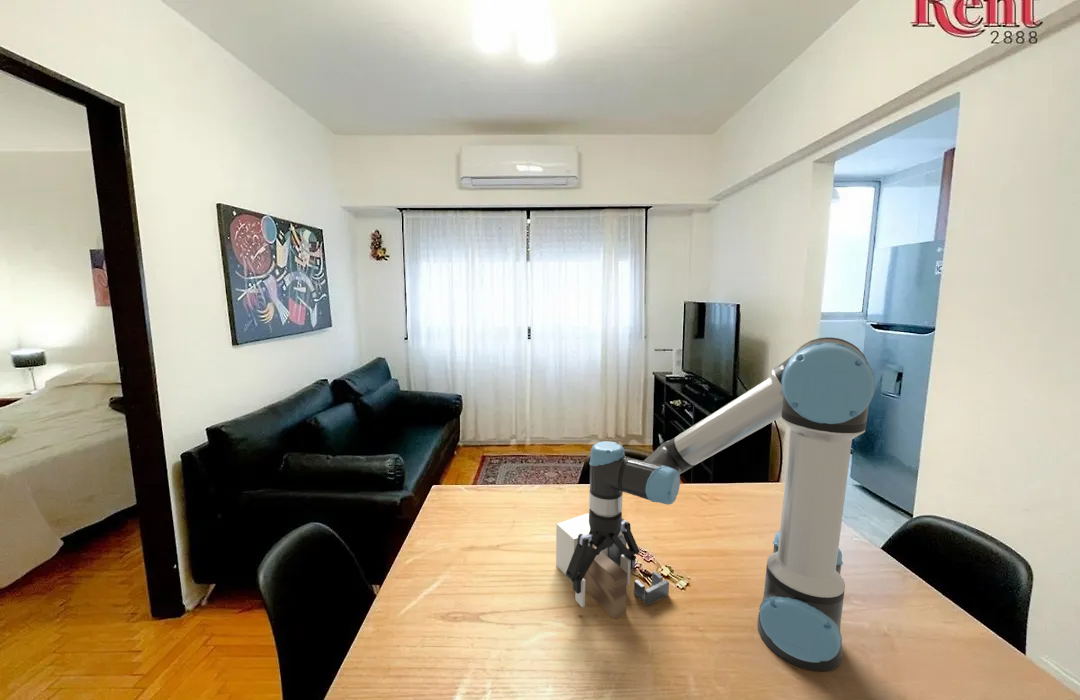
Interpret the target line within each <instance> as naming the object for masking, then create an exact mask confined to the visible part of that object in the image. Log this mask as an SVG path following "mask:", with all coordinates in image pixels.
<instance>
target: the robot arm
mask: <svg viewBox="0 0 1080 700" xmlns="http://www.w3.org/2000/svg"><path fill="white" fill-rule="evenodd" d="M875 390H876V378H875V374H874V371H873V368H872V367H871V364H869V362H868V360H867V358H866V356H865V354H864V353H863V352H862V351H861V349H860V348H859V347H857V346H856V345H854V344H853V343H852V342H849V341H847V340H845V339H843V338H839V337H831V336H830V337H829V336H828V337H826V336H825V337H818V338H815V339H812V340H809V341H807V342H806V343H804V344H803V345H800V347H799V348H798V349H797V350H796V351H795V352H794V353H792V354H791V355H790V356H789V357H788V358H787V359H785V361H783V362H782V363H780V364H779V365H776V367H774V368H772V370H771V375H770V376H769V377H768V378H766V379H765V380H763V381H762V382H760V383H758V384H757V385H755V386H754V387H752V388H751V389H748V390H747V391H745V392H744V393H743V394H741V395H740V396H738V397H737V398H735V399H733V400H731V401H730V402H728V403H726V404H725V405H724V406H722V407H720V408H719V409H718V410H716V411H714V412H713V413H711V414H709V415H708V416H706V417H705V418H703V419H701V420H700V421H698V422H696V423H695V424H693V425H692V426H690V427H689V428H687V429H685V430H684V431H683V432H680V433H679V434H678V435H677V436H675V437H673V438H672V439H670V440H667V441H664V442H663V443H661V444H660V445H659V446H657V448H656V449H655V450H654V451H653V452H651V454H650V455H648V457H646V458H645V459H644V460H640V459H638V458H637V459H636V458H632V457H630V456H626V455H625V449H624V447H623V445H622V444H619V443H618V442H615V441H609V440H608V441H607V440H606V441H605V440H604V441H598V442H595V444H593V445H592V447H591V448H590V459H589V499H588V500H589V501H588V504H589V509H588V513H589V525H590V532H589V534H588V535H583V534H579V535H578V542H577V546H576V548H575V551H574V553H573V556H572V558H571V561H570V563H569V566H568V569H567V571H566V575H565V576H566V577H567V578H568V580H569V581H570V582H572V583H573V584H572V588H573V591H574V592H575V593H574V595H575V597H574V599H575V602H577V604H579V605H580V606H581V608H585V607H586V590H585V579H584V576H585V574H586V572H587V571H588V569H589V567H590V565H591V564H592V562H593V560H594V559H595V557H596V555H599V554H600V552H601V550H604V549H606V548H607V547H612V545H613V544H615V545H616V546H617V547H618V548H619V549H620V550H621V551H622V552H623V553H624V554H625V556H624V555H621V563H620V565H619V567H620V568H621V569H623V570H624V571H625V572H626V573H627V587H629V586H630V585H631V584H630V583H631V570H633V569H632V560H633V561H635V562H636V559H637V556H636V555H639V553H640V549H639V547H638V545H637V543H636V542H637V541H636V539H635V537H634V535H633V533H632V531H631V530H632V527H631V523H630V522H628V521H627V520H626V519H624V518H623V513H622V512H623V511H622V510H623V493H625V494H629V495H633V496H635V497H638V498H641V499H644V500H647V501H650V502H653V503H658V504H663V505H667V506H669V505H672V504H674V503H675V501H676V500H677V496H678V494H679V491H680V485H681V476H680V475H681V474H682V473H685V472H687V471H688V470H690V469H692V468H693V467H695V466H697V465H698V464H699V463H701V462H704V461H705V460H706V459H708V458H710V457H712V456H714V455H716V454H717V453H719V452H722V451H723V450H726V449H727V448H729V447H730V446H732V445H734V444H735V443H738V442H739V441H741V440H743V439H745V438H746V437H749V436H750V435H752V434H753V433H755V432H757V431H759V430H761V429H763V428H764V427H766V426H767V425H769V424H771V423H774V422H776V421H777V420H779V419H780V418H781V420H782V421H783V422H784V423H785V424H786V425H787V426H788V427H789V429H790V431H789V437H788V438H789V439H788V447H787V459H786V468H785V469H786V470H785V479H784V486H783V487H784V489H783V499H782V508H781V518H780V528H779V530H778V531H776V532H775V535H774V540H773V542H772V544H773V549H772V551H773V552H772V553H771V554H770V555H769V556H768V558H767V561H766V571H765V577H764V578H765V579H764V590H763V597H762V602H761V603H760V605H759V611H758V615H757V616H758V617H757V623H756V624H757V630H758V633H759V636H760V638H761V639H762V641H763V642H764V643H765V645H766V646H767V647H768V648H769V649H770V650H771V651H772V652H774V654H776V655H777V656H779V657H780V658H782V659H783V660H785V661H787V662H788V663H790V664H792V665H794V666H796V667H798V668H801V669H806V670H809V671H813V672H828V671H832V670H835V669H836V668H838V667H839V666H840V664H841V663H842V658H843V648H844V647H843V643H842V641H843V637H842V636H843V635H842V633H841V626H842V625H841V624H842V616H843V614H842V613H843V607H844V606H843V605H844V597H845V592H846V583H845V580H844V578H843V577H842V575H841V571H842V566H843V564H844V562H843V553H842V550H841V549H840V548H839V546H840V538H841V530H842V521H843V516H844V506H845V500H846V499H845V497H846V491H847V483H848V476H849V475H848V474H849V466H850V458H851V451H852V444H853V440H854V439H855V438H857V437H859V436H860V435H862V434H864V433H866V429H867V428H866V427H867V420H868V413H869V406H870V403H872V399H873V398H874V395H875ZM620 531H621V532H622V534H623V536H624V538H625V540H626V546H625V545H624V544H623V543H622V541H621V540H620V539H619V538H618V535H619V533H620ZM593 544H594V545H595V546H596V547H597V548H596V549H595V548H593ZM634 555H635V556H634Z"/></svg>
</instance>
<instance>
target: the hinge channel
mask: <svg viewBox="0 0 1080 700" xmlns="http://www.w3.org/2000/svg"><path fill="white" fill-rule="evenodd" d="M618 538H619V539H620V540H621V541H622V543H623V544H624V545H625V546H626V547H627V543H626V540H625V538H624V536H623V535H622V536H620V537H618ZM621 555H624V556H625V554H624V553H623V552H622V551H621V550H620V549H619V548H618V547H617V546H616V545H615V544H613V545H612V547H608V558H610V559H611V560H612V561H613V562H614V563H616V564H617V565H618V566H620V563H621ZM634 556H636V554H635V555H634ZM635 568H636V560H635V561H633V560H632V569H631V570H634V569H635ZM663 578H664V577H663V575H661V574H660V573H659V572H657V571H656V570H654V571H652V574H651V586H649V587H648V588H646V585H645V584H644V583H642V582H641V581H640V580H639V579H635V580H634V581H633V583H634V584H633V595H634V596H635V597H637V598H638V599H639V600H640V601H644V605H645V606H646V607H648V606H650V605H652V604H654V603H656V602H658V601H660V600H662V599H664V598H666V597H667V596H669V593H670V591H669V589H670V581H669V580H668V579H663Z"/></svg>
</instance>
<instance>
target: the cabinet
mask: <svg viewBox="0 0 1080 700" xmlns="http://www.w3.org/2000/svg"><path fill="white" fill-rule="evenodd" d="M555 527H556V529H555V530H556V532H555V533H556V537H555V539H556V542H555V544H556V547H555V552H556V553H555V562H556V563H555V566H556V567H557V568H558V569H559V570H560V571H561V572H562V573H563V574H564V575H565V576H566V571H567V569H568V566H569V563H570V561H571V558H572V556H573V553H574V551H575V548H576V546H577V542H578V535H579V534H583V535H588V534H589V532H590V525H589V512H587V513H584V514H581V515H578V516H575V517H573V518H569V519H567V520H564V521H561V522H558V523H556V525H555ZM622 535H623V534H622V532H621V531H620V533H619V535H618V537H620V536H622ZM593 546H595V545H594V544H593ZM595 547H596V546H595ZM601 552H603V553H604V554H605V555H606V556H607V557H608V547H607V548H606V549H604V550H601Z"/></svg>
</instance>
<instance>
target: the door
mask: <svg viewBox="0 0 1080 700" xmlns="http://www.w3.org/2000/svg"><path fill="white" fill-rule="evenodd" d="M593 548H595V549H596V548H597V547H595V546H593ZM584 579H585V592H587V593H588V595H590V596H591V598H592V599H594V600H595V601H596V602H597V603H598V605H600V606H601V607H602V608H603V610H604V611H606V613H608V615H609V616H610V617H611V618H612V620H615V619H618V618H619V617H621V616H623V615H625V614H626V613H627V592H628V591H627V590H628V589H627V588H628V586H627V573H626V572H625V571H624V570H623V569H621V568H620V565H617V564H616V563H614V562H613V561H612V560H611V559H610V558H608V557H607V556H606V555H605V554H604V553H603V552H600V554H599V555H596V557H595V559H594V560H593V562H592V564H591V565H590V567H589V569H588V571H587V572H586V574H585V576H584Z"/></svg>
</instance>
